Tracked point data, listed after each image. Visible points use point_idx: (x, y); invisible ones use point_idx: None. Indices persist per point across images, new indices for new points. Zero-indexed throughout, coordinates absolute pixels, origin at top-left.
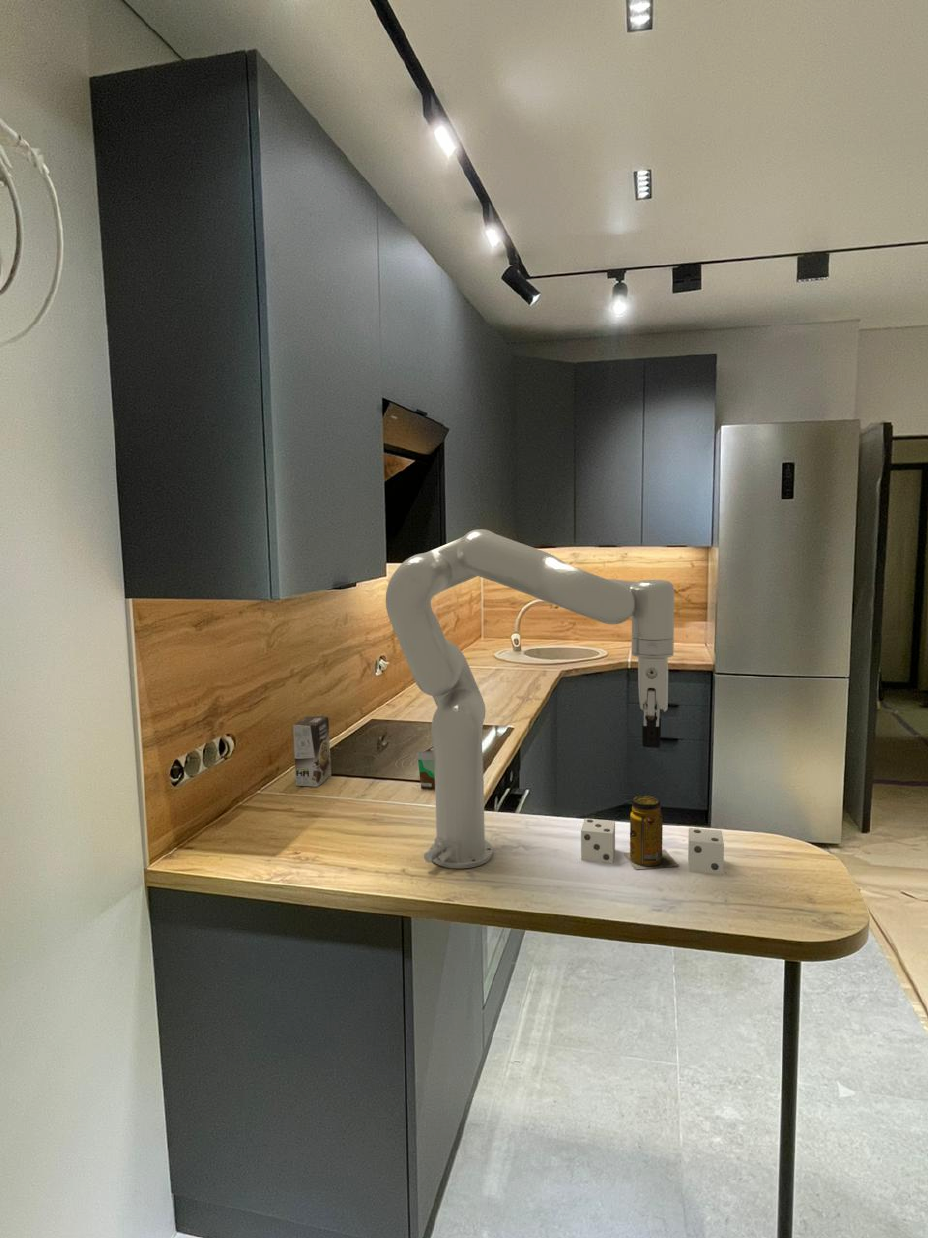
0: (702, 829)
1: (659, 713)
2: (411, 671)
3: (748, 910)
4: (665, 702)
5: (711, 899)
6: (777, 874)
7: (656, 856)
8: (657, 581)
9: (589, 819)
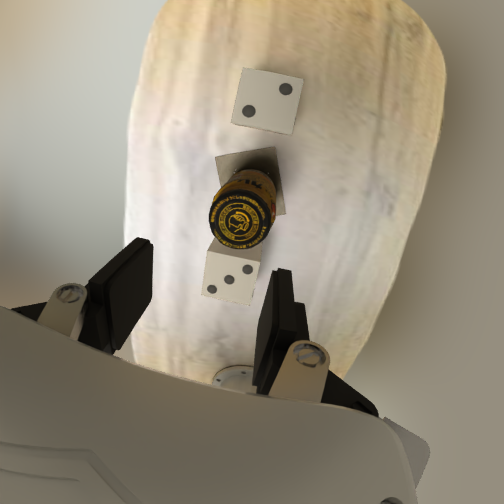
0: (237, 99)
1: (82, 307)
2: None
3: (395, 96)
4: (411, 485)
5: (370, 130)
6: (293, 20)
7: (272, 183)
8: None
9: (204, 289)
